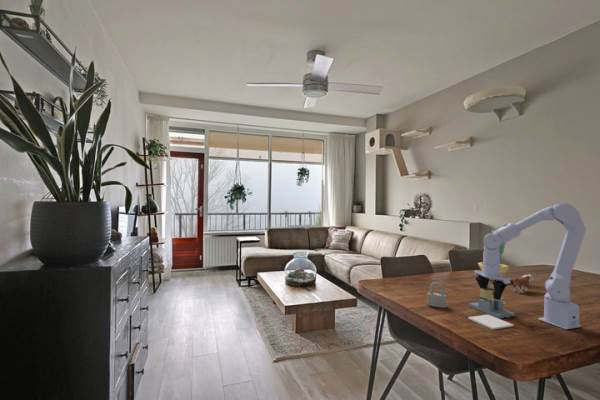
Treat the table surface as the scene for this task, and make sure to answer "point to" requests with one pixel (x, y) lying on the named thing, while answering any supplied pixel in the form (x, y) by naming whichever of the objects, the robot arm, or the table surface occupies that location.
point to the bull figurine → (522, 282)
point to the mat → (490, 322)
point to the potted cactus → (502, 267)
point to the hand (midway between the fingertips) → (490, 297)
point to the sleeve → (488, 293)
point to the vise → (492, 308)
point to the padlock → (436, 297)
